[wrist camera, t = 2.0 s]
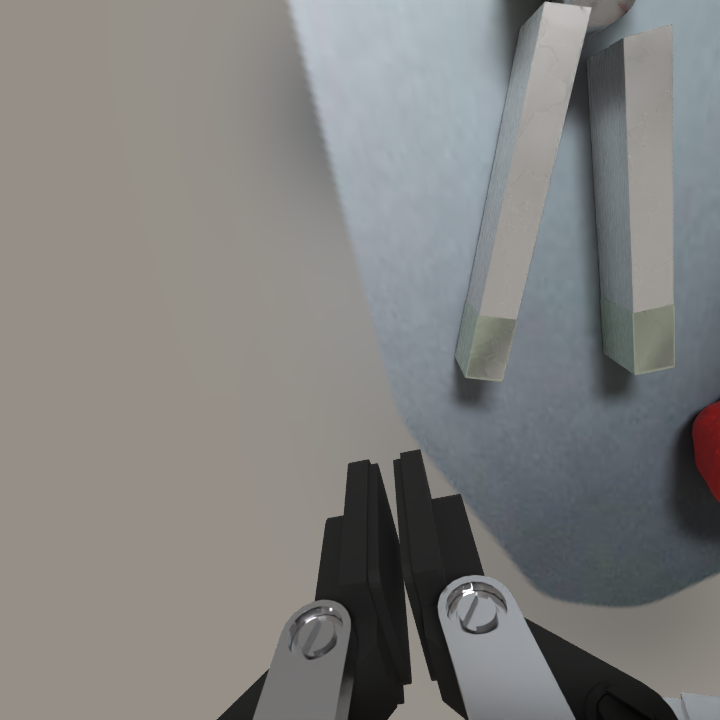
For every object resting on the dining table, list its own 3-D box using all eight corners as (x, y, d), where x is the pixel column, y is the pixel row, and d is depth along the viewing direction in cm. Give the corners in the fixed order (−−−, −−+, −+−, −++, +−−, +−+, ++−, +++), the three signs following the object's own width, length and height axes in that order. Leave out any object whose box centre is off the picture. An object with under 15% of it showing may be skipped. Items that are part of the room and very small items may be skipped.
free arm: (609, -15, 22) (650, -50, 18) (515, 363, 28) (533, 385, 25) (529, -25, 21) (556, -62, 18) (454, 356, 28) (465, 377, 25)
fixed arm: (628, 48, 23) (673, 23, 19) (638, 345, 28) (674, 367, 25) (585, 60, 23) (622, 37, 19) (603, 352, 28) (634, 375, 25)
